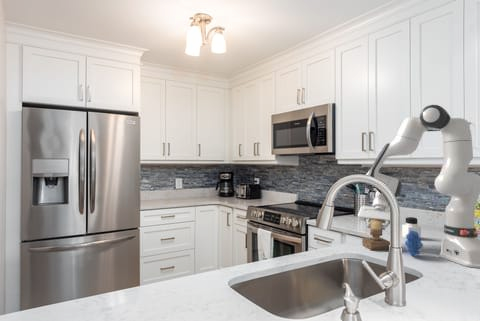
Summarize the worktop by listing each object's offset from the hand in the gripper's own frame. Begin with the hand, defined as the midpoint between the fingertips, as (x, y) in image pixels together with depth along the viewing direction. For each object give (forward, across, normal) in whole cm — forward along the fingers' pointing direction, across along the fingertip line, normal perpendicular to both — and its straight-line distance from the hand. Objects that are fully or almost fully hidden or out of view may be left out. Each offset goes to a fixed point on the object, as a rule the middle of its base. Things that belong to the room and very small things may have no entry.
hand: (375, 228), depth 158 cm
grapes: (+10, +18, +4) cm, 21 cm away
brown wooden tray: (+7, 0, +7) cm, 10 cm away
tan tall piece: (+5, 0, +6) cm, 7 cm away
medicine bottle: (-19, +10, +34) cm, 40 cm away
